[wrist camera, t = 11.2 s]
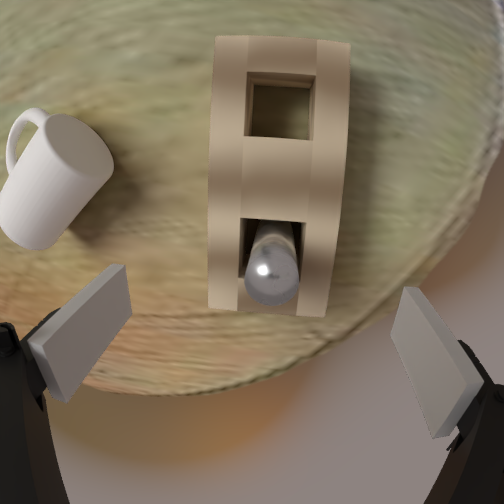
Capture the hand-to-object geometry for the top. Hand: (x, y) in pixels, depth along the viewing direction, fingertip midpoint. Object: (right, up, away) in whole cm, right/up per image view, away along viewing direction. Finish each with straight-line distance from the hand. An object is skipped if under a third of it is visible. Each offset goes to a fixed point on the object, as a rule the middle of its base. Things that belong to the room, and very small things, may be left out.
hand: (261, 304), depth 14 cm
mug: (-19, +11, +12) cm, 25 cm away
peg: (+1, +4, +13) cm, 13 cm away
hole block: (+2, +9, +11) cm, 14 cm away
